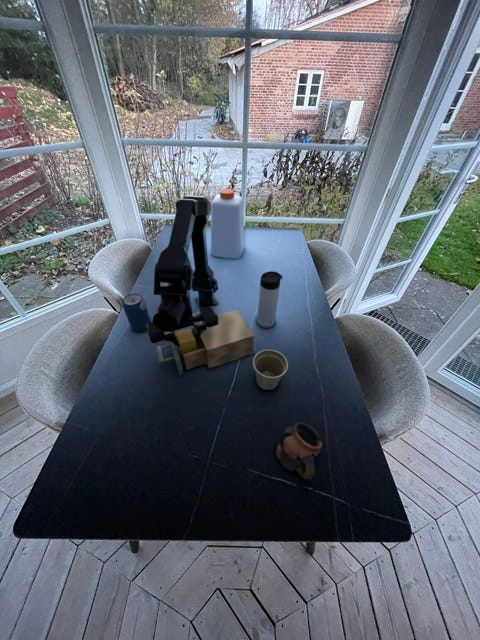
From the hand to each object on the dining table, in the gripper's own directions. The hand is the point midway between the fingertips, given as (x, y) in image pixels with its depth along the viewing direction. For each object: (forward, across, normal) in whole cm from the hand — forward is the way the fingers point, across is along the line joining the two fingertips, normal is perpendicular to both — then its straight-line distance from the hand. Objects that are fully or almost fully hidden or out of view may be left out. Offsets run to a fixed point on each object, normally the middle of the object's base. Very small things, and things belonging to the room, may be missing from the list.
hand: (186, 344), depth 78 cm
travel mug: (+7, -30, -5) cm, 31 cm away
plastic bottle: (+7, -36, -57) cm, 68 cm away
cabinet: (+6, -12, 0) cm, 13 cm away
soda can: (+7, +12, -20) cm, 24 cm away
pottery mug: (+7, -16, +38) cm, 42 cm away
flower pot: (+7, -18, +17) cm, 26 cm away
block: (+1, 0, 0) cm, 1 cm away
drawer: (+6, 0, 0) cm, 6 cm away
